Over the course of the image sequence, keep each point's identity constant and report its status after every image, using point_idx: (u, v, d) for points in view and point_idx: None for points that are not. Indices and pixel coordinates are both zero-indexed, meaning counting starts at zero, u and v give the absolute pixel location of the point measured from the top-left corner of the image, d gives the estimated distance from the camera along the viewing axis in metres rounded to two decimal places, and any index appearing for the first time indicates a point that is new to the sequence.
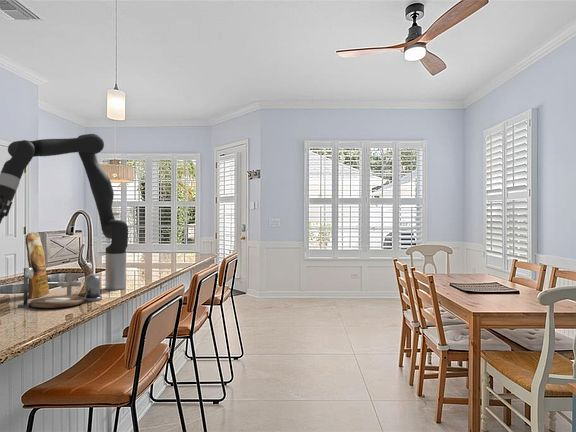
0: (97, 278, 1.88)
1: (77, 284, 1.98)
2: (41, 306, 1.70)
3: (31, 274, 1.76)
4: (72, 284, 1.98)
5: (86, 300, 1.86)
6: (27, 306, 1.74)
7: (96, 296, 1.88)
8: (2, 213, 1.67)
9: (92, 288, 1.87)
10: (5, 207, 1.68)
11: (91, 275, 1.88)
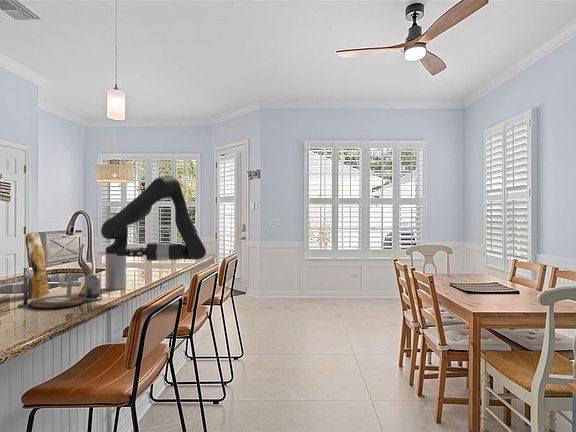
0: (97, 278, 1.88)
1: (77, 284, 1.98)
2: (41, 306, 1.70)
3: (31, 274, 1.76)
4: (72, 284, 1.98)
5: (86, 300, 1.86)
6: (27, 306, 1.74)
7: (96, 296, 1.88)
8: None
9: (92, 288, 1.87)
10: None
11: (91, 275, 1.88)
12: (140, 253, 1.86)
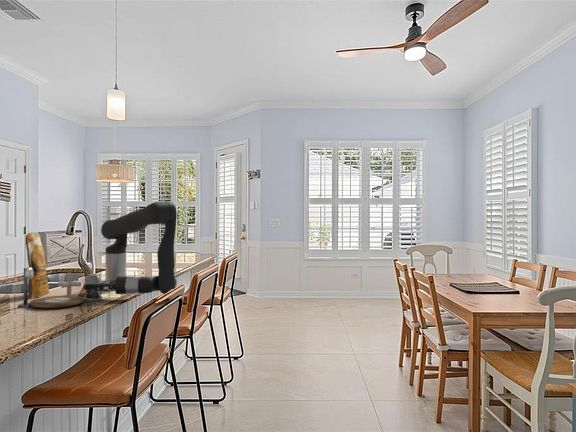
0: (97, 278, 1.88)
1: (77, 284, 1.98)
2: (41, 306, 1.70)
3: (31, 274, 1.76)
4: (72, 284, 1.98)
5: (86, 300, 1.86)
6: (27, 306, 1.74)
7: (96, 296, 1.88)
8: None
9: None
10: None
11: (91, 275, 1.88)
12: (106, 288, 1.84)
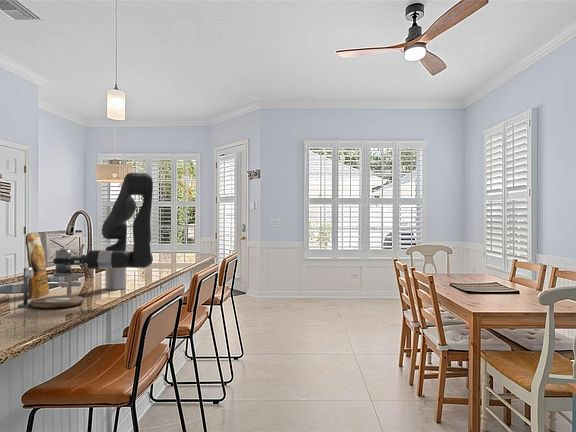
0: (68, 252, 1.79)
1: (77, 284, 1.98)
2: (41, 306, 1.70)
3: (31, 274, 1.76)
4: (72, 284, 1.98)
5: (56, 275, 1.77)
6: (27, 306, 1.74)
7: (67, 271, 1.79)
8: None
9: None
10: None
11: (61, 249, 1.79)
12: (77, 261, 1.75)
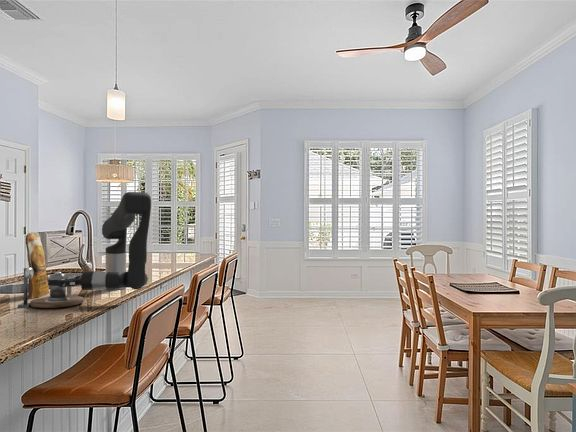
0: (62, 276, 1.78)
1: None
2: (41, 306, 1.70)
3: (31, 274, 1.76)
4: None
5: (50, 300, 1.76)
6: (27, 306, 1.74)
7: (61, 295, 1.77)
8: None
9: (57, 287, 1.77)
10: None
11: (56, 273, 1.78)
12: (73, 283, 1.74)
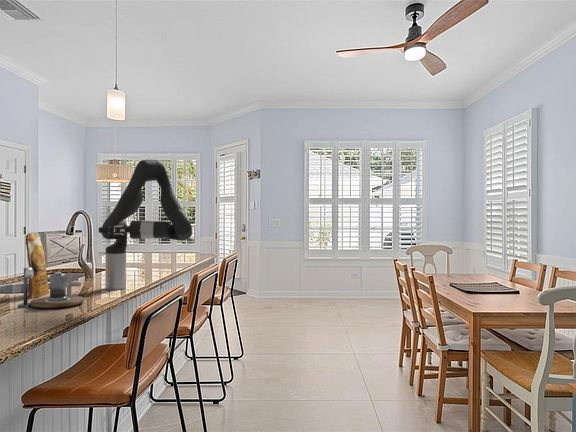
0: (62, 276, 1.78)
1: (77, 284, 1.98)
2: (41, 306, 1.70)
3: (31, 274, 1.76)
4: (72, 284, 1.98)
5: (50, 300, 1.76)
6: (27, 306, 1.74)
7: (61, 295, 1.77)
8: None
9: (57, 287, 1.77)
10: None
11: (56, 273, 1.78)
12: (123, 230, 1.78)
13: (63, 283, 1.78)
